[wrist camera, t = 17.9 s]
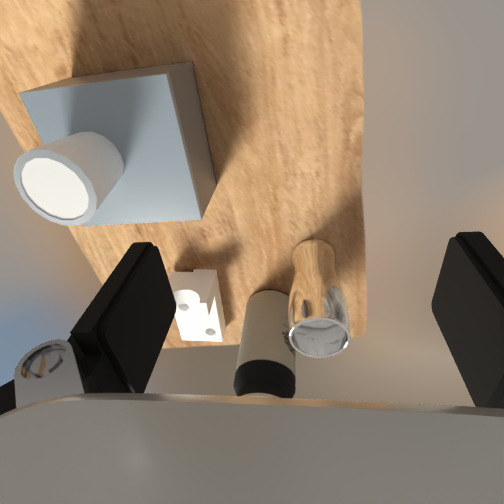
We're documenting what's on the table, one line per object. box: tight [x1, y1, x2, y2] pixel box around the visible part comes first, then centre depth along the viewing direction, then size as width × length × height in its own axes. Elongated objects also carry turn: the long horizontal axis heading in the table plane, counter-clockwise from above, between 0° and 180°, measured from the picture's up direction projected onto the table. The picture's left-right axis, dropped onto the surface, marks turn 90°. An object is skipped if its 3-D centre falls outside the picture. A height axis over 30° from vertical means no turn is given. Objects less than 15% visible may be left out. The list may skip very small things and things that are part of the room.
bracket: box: [168, 269, 226, 342], centre depth 53 cm, size 13×7×8 cm, turn 4°
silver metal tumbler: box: [287, 239, 351, 358], centre depth 42 cm, size 7×7×15 cm
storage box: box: [27, 61, 217, 215], centre depth 37 cm, size 14×14×8 cm
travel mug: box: [234, 290, 295, 398], centre depth 47 cm, size 8×8×18 cm
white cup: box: [13, 132, 124, 226], centre depth 30 cm, size 7×7×7 cm
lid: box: [19, 73, 203, 226], centre depth 33 cm, size 14×14×1 cm
